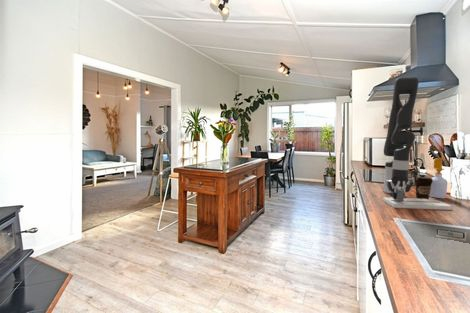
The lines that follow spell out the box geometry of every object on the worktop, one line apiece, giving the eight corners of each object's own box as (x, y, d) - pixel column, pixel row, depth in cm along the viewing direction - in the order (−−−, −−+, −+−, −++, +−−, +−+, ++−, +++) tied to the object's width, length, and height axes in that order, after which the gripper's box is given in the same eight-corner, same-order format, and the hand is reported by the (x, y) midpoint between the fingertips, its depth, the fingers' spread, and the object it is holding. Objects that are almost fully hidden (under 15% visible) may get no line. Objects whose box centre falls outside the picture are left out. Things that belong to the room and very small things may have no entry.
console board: (382, 200, 145) (382, 197, 145) (434, 202, 142) (434, 198, 142) (394, 207, 132) (394, 203, 132) (451, 209, 129) (451, 205, 129)
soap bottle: (430, 197, 152) (433, 158, 150) (425, 194, 161) (428, 156, 158) (448, 199, 149) (452, 158, 146) (442, 195, 157) (446, 157, 155)
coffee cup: (434, 201, 145) (436, 179, 143) (418, 200, 146) (420, 178, 145) (426, 197, 153) (428, 176, 152) (411, 196, 155) (413, 175, 154)
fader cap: (392, 198, 140) (393, 187, 140) (398, 198, 140) (399, 188, 139) (397, 201, 135) (398, 190, 135) (403, 201, 135) (404, 190, 134)
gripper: (410, 167, 139) (407, 197, 141) (383, 167, 140) (381, 196, 142) (418, 169, 131) (415, 201, 133) (390, 169, 133) (388, 200, 135)
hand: (398, 198), depth 138 cm, fingers closed on fader cap, 3 cm apart
